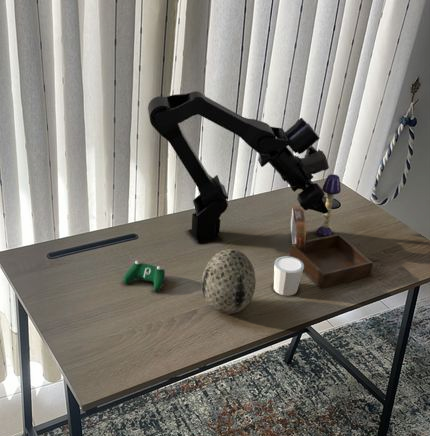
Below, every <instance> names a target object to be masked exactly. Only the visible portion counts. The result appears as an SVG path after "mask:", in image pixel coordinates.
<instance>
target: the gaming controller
mask: <svg viewBox="0 0 430 436" xmlns="http://www.w3.org/2000/svg"><path fill="white" fill-rule="evenodd" d="M165 276H166V272H165V268H164V267H163V266H160V265H152V264H148V263H144V262H143V263H142V262H141V261H139V260H135V261H134V263H133V264H131V266H130V268H129V269H128V270H127V271H126V273H125V274H124V276H123V280H122V282H123V283H124V284H126V285H129V284H131V283H132V282H133V281H134V280H136V279H138V280H144V281H147V282H150V283H153V290H154V292H156V293H158V292H160V291H161V290H162V287H163V284H164V281H165Z"/></svg>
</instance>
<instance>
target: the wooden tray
mask: <svg viewBox="0 0 430 436" xmlns="http://www.w3.org/2000/svg"><path fill="white" fill-rule="evenodd" d="M289 252H290V253H289V257H294V258H297V259H299V260H300V261H302V262H303V264H304V269H303V272H304V273H305V274H306V275H307V276H308V277H309V278H310V279H311V280H312V281H313V282H314V283H315V284H316V285H317V286H318V287H320V289H324V288H328V287H331V286H335V285H339V284H343V283H347V282H350V281H354V280H359V279H363V278H367V277H370V276H371V272H372V269H373V264H374V262H373V261H372V260H371V259H370V258H369V257H367V256H366V255H365V254H364V253H362V252H361V250H359V249H358V248H357V247H355V246H354V245H353V244H352V243H351V242H349V241H348V239H347V238H345V237H344V236H342V235H341V234H340V233H336V234H332V235H331V236H326V237H317V238H313V239H312V238H311V239H307V240H306V243H305V250H304V252H303V251H301V250H300V249H299V248H298V247H297V246H296V243H294V244H292V243H291V246H290V251H289Z"/></svg>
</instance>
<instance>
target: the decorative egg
mask: <svg viewBox="0 0 430 436" xmlns="http://www.w3.org/2000/svg"><path fill="white" fill-rule="evenodd" d="M256 282H257V281H256V273H255V268H254V266H253V264H252V262H251V260H250V259H249V258H248V256H247V255H246V254H244V253H243V252H242V251H240V250H238V249H234V248H227V249H223V250H220V251H217V253H215V254H214V255H213V256H212V257H211V259H210V260H209V261H208V262H207V264H206V266H205V268H204V271H203V274H202V278H201V292H202V295H203V298H204V300H205V302H206V303H207V305H208V306H209V307H210V308H211V309H212V310H214V311H216V312H218V313H220V314H224V315H231V314H236V313H238V312H240V311H242V310H244V309H245V308H246V307H247V306H248V305H249V304H250V302H251V301H252V299H253V296H254V294H255V290H256V284H257V283H256Z"/></svg>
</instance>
